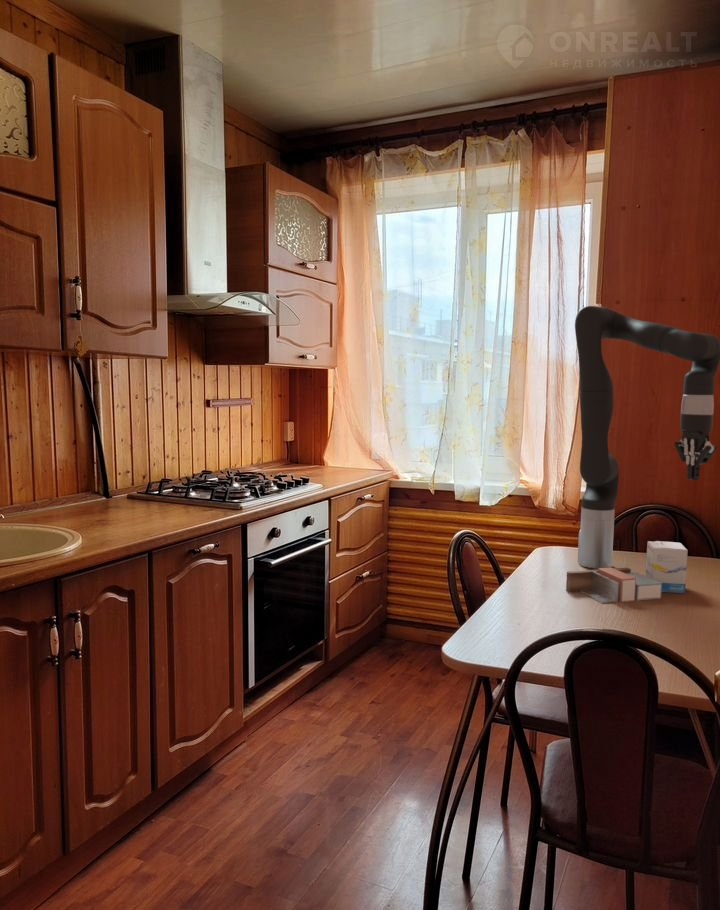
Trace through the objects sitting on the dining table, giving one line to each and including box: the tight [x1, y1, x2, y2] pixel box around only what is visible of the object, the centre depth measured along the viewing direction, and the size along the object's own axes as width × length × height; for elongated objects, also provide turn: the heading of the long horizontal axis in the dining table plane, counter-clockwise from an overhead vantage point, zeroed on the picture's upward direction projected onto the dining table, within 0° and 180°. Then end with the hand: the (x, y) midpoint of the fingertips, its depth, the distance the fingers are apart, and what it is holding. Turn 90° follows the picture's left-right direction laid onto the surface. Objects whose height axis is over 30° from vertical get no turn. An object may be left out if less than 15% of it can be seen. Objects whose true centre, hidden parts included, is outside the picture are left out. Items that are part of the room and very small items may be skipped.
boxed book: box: [597, 566, 636, 603], centre depth 177 cm, size 10×4×6 cm, turn 15°
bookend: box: [579, 572, 619, 604], centre depth 176 cm, size 10×4×5 cm, turn 15°
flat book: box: [625, 571, 662, 601], centre depth 179 cm, size 10×7×4 cm
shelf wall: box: [565, 567, 632, 593], centre depth 183 cm, size 2×18×5 cm, turn 105°
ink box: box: [644, 540, 689, 594], centre depth 184 cm, size 9×8×12 cm
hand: (692, 479), depth 181 cm, fingers closed
